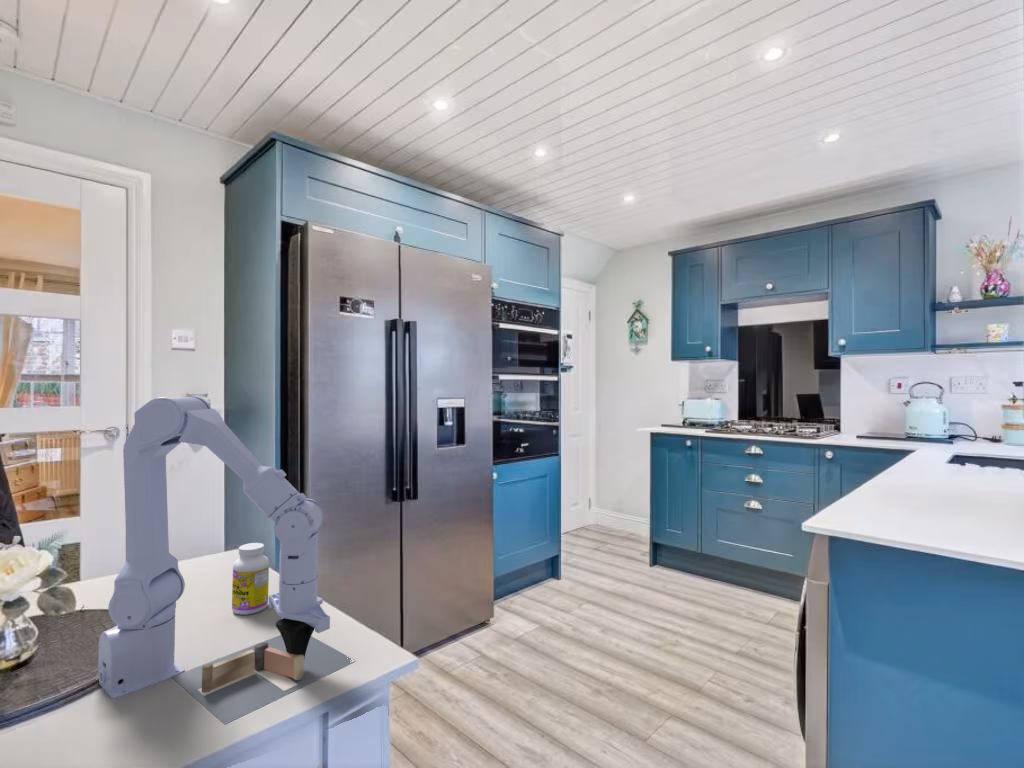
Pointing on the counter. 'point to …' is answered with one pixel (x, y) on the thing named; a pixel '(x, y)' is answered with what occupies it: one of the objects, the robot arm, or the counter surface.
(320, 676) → the board
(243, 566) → the supplement bottle
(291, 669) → the pink slab
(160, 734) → the counter surface
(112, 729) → the counter surface
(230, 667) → the base
